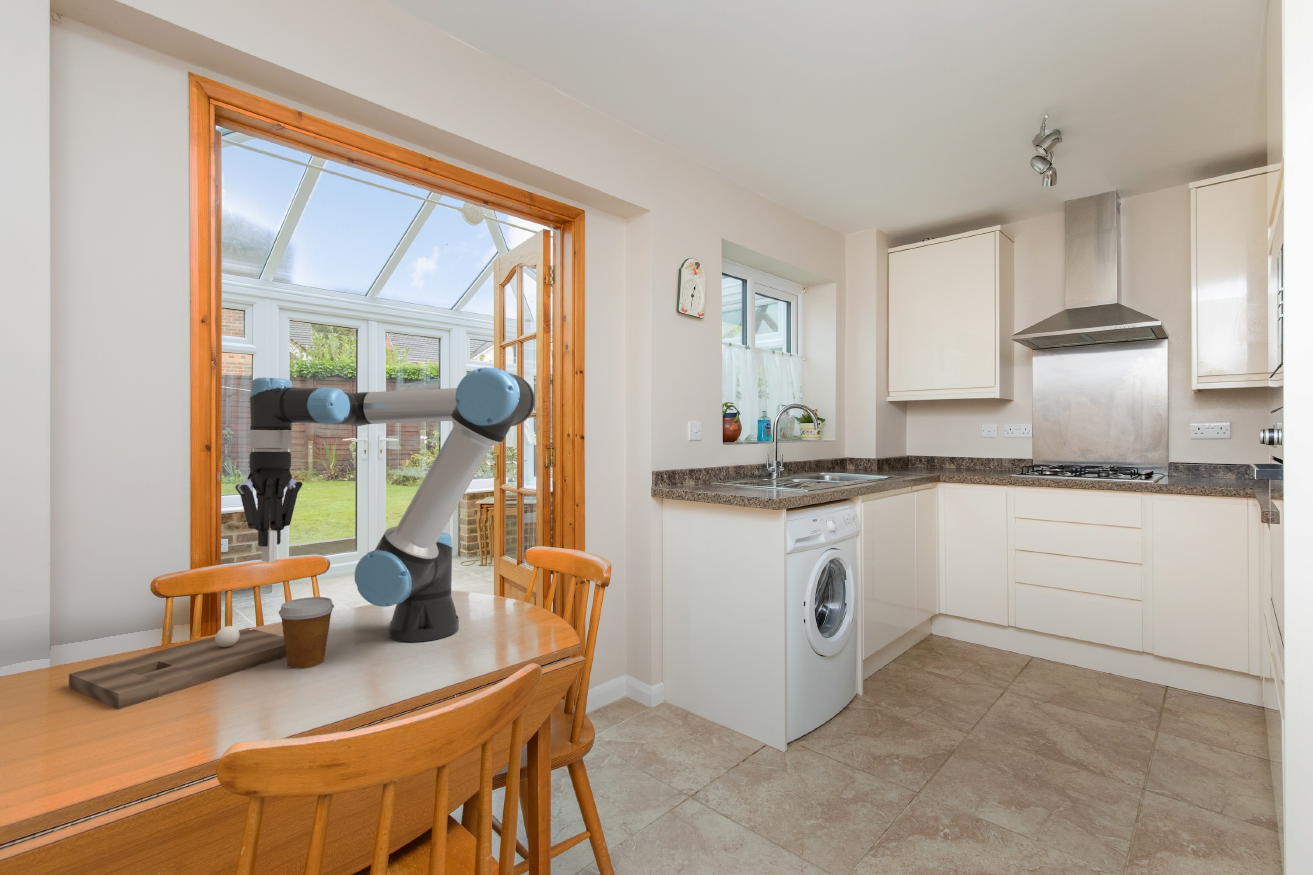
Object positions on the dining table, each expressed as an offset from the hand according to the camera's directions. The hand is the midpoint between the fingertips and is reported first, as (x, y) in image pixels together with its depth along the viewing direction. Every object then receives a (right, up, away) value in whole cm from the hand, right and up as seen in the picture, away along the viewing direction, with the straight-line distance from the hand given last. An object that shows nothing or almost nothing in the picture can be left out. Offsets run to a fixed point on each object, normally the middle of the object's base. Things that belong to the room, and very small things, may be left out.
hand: (269, 560), depth 128 cm
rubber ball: (-4, -14, -7) cm, 16 cm away
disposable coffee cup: (+13, -19, -9) cm, 25 cm away
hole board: (-6, -18, -13) cm, 23 cm away
